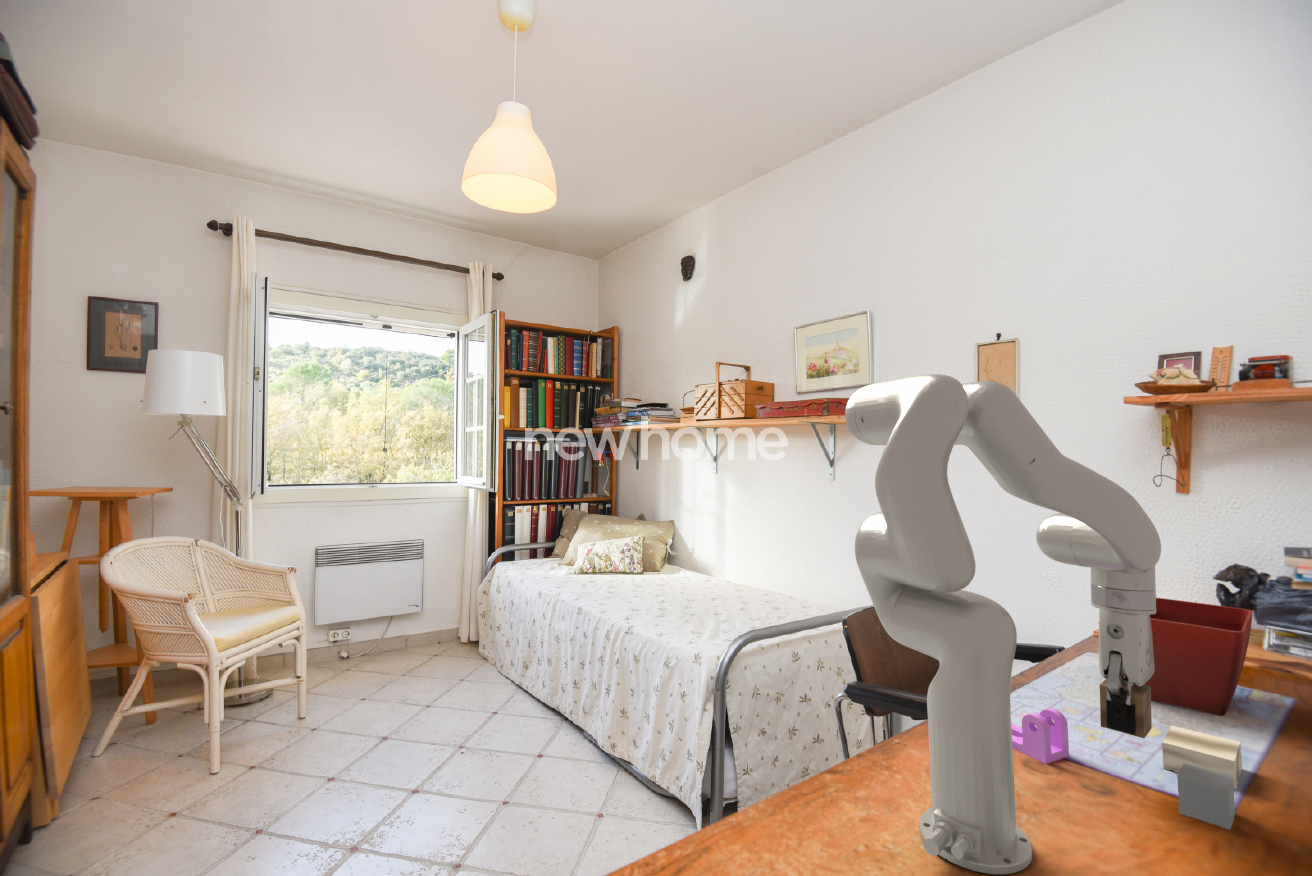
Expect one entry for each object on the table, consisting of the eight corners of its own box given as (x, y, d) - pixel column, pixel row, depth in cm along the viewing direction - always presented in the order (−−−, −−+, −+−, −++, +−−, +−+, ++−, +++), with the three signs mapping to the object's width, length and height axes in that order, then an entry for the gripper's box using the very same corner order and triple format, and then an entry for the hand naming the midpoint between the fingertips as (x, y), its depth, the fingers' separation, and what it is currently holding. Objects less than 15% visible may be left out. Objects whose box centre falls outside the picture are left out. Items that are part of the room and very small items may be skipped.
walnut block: (1144, 738, 83) (1143, 694, 83) (1100, 726, 87) (1099, 684, 87) (1151, 728, 86) (1150, 686, 87) (1109, 717, 90) (1108, 676, 90)
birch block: (1236, 789, 85) (1234, 761, 85) (1163, 768, 91) (1162, 742, 91) (1242, 768, 90) (1240, 742, 91) (1172, 750, 97) (1171, 725, 97)
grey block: (1230, 830, 77) (1228, 791, 77) (1179, 814, 80) (1177, 776, 81) (1235, 814, 80) (1232, 776, 80) (1185, 798, 84) (1183, 762, 84)
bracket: (1069, 757, 96) (1066, 713, 96) (1045, 765, 94) (1043, 720, 94) (995, 724, 108) (994, 685, 108) (973, 730, 106) (971, 690, 106)
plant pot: (1249, 730, 102) (1243, 631, 103) (1111, 698, 117) (1107, 611, 117) (1258, 697, 115) (1253, 609, 115) (1133, 672, 129) (1129, 594, 130)
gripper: (1142, 612, 79) (1146, 753, 78) (1167, 594, 90) (1170, 717, 89) (1075, 602, 85) (1078, 733, 84) (1106, 586, 96) (1109, 701, 95)
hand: (1126, 723), depth 87 cm, fingers closed on walnut block, 4 cm apart
